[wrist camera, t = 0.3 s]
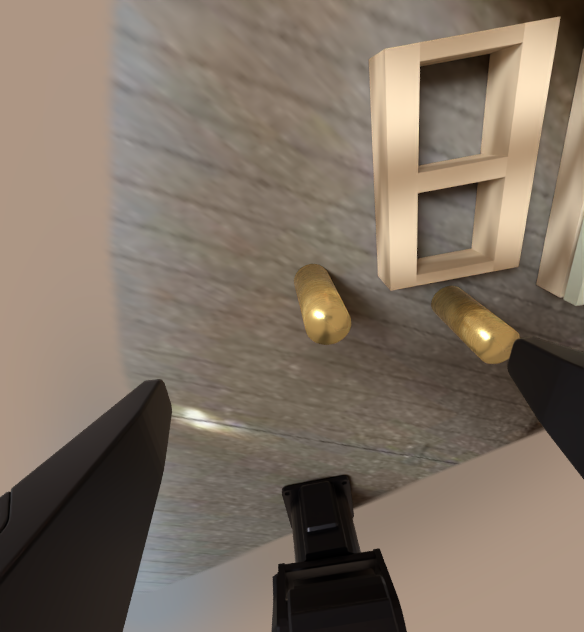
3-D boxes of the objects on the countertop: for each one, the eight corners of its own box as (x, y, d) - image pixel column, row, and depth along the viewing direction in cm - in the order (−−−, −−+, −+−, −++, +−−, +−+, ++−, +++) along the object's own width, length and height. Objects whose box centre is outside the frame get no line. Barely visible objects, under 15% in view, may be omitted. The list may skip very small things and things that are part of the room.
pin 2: (462, 312, 25) (516, 359, 20) (430, 318, 25) (476, 367, 20) (465, 282, 24) (523, 324, 19) (431, 289, 24) (480, 332, 19)
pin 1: (331, 293, 24) (352, 340, 18) (297, 300, 24) (308, 348, 18) (327, 260, 22) (349, 300, 17) (291, 267, 22) (302, 309, 17)
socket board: (493, 253, 23) (518, 266, 21) (378, 275, 23) (390, 290, 21) (522, 31, 17) (560, 16, 15) (368, 59, 17) (384, 48, 15)
